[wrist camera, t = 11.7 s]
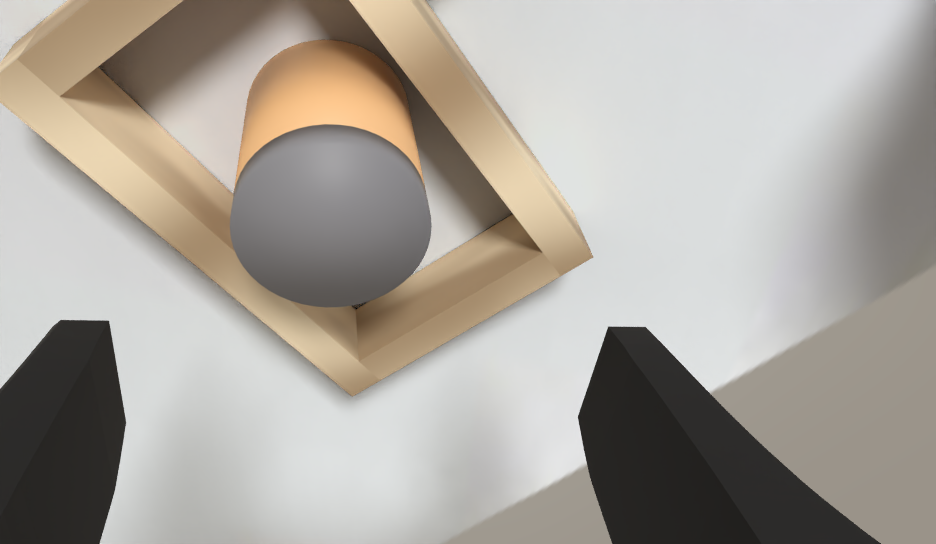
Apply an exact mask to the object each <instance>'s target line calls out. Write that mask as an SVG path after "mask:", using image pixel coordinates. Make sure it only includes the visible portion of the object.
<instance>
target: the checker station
mask: <svg viewBox="0 0 936 544" xmlns="http://www.w3.org/2000/svg"><path fill="white" fill-rule="evenodd" d="M182 1H183V0H68V1H66V2H65V3H64V4H63V5H62V6H60V7H59V8H58V9H57V10H55V11H54V12H53V13H52V14H51V15H49V16H48V17H47V18H46V19H44V20H43V21H42V22H41V23H39V24H38V25H37V26H36V27H35V28H33V29H32V30H31V31H30V32H28V33H27V34H26V35H25V36H23V37H22V38H21V39H20V40H19V41H17V42H16V43H15V44H14V45H13V46H12V48H11V49H10V51H9V52H8V53H7V55H6V56H5V57H4V59H3V60H2V61H1V63H0V103H2V104H3V105H4V106H5V107H6V108H8V109H9V110H10V111H11V112H12V113H14V114H15V115H16V116H17V117H18V118H20V119H21V120H22V121H23V122H24V123H26V124H27V125H28V126H29V127H30V128H32V129H33V130H34V131H35V132H36V133H38V134H39V135H40V136H41V137H42V138H43V139H45V140H46V141H47V142H48V143H49V144H51V145H52V146H53V147H54V148H55V149H57V150H58V151H59V152H60V153H61V154H63V155H64V156H65V157H66V158H67V159H69V160H70V161H71V162H72V163H73V164H75V165H76V166H77V167H78V168H79V169H81V170H82V171H83V172H84V173H85V174H87V175H88V176H89V177H90V178H91V179H93V180H94V181H95V182H96V183H97V184H99V185H100V186H101V187H102V188H103V189H105V190H106V191H107V192H108V193H109V194H111V195H112V196H113V197H114V198H115V199H116V200H118V201H119V202H120V203H121V204H122V205H124V206H125V207H126V208H127V209H128V210H130V211H131V212H132V213H133V214H134V215H136V216H137V217H138V218H139V219H140V220H142V221H143V222H144V223H145V224H146V225H148V226H149V227H150V228H151V229H152V230H154V231H155V232H156V233H157V234H158V235H160V236H161V237H162V238H163V239H164V240H166V241H167V242H168V243H169V244H170V245H172V246H173V247H174V248H175V249H176V250H178V251H179V252H180V253H181V254H182V255H184V256H185V257H186V258H187V259H188V260H189V261H191V262H192V263H193V264H194V265H195V266H197V267H198V268H199V269H200V270H201V271H203V272H204V273H205V274H206V275H207V276H209V277H210V278H211V279H212V280H213V281H215V282H216V283H217V284H218V285H219V286H221V287H222V288H223V289H224V290H225V291H227V292H228V293H229V294H230V295H231V296H233V297H234V298H235V299H236V300H237V301H239V302H240V303H241V304H242V305H243V306H245V307H246V308H247V309H248V310H249V311H251V312H252V313H253V314H254V315H255V316H257V317H258V318H259V319H260V320H261V321H262V322H264V323H265V324H266V325H267V326H268V327H270V328H271V329H272V330H273V331H274V332H276V333H277V334H278V335H279V336H280V337H282V338H283V339H284V340H285V341H286V342H288V343H289V344H290V345H291V346H292V347H294V348H295V349H296V350H297V351H298V352H300V353H301V354H302V355H303V356H304V357H306V358H307V359H308V360H309V361H310V362H312V363H313V364H314V365H315V366H316V367H318V368H319V369H320V370H321V371H322V372H324V373H325V374H326V375H327V376H328V377H330V378H331V379H332V380H333V381H334V382H335V383H337V384H338V385H339V386H340V387H341V388H343V389H344V390H345V391H346V392H347V393H349V394H350V395H351V396H354V395H356V394H358V393H359V392H361V391H363V390H364V389H366V388H368V387H370V386H371V385H373V384H375V383H377V382H378V381H380V380H382V379H384V378H385V377H387V376H389V375H390V374H392V373H394V372H396V371H397V370H399V369H401V368H403V367H404V366H406V365H408V364H409V363H411V362H413V361H415V360H416V359H418V358H420V357H422V356H423V355H425V354H427V353H428V352H430V351H432V350H434V349H435V348H437V347H439V346H441V345H442V344H444V343H446V342H447V341H449V340H451V339H453V338H454V337H456V336H458V335H460V334H461V333H463V332H465V331H467V330H468V329H470V328H472V327H473V326H475V325H477V324H479V323H480V322H482V321H484V320H486V319H487V318H489V317H491V316H492V315H494V314H496V313H498V312H499V311H501V310H503V309H505V308H506V307H508V306H510V305H511V304H513V303H515V302H517V301H518V300H520V299H522V298H524V297H525V296H527V295H529V294H531V293H532V292H534V291H536V290H537V289H539V288H541V287H543V286H544V285H546V284H548V283H550V282H551V281H553V280H555V279H556V278H558V277H560V276H562V275H563V274H565V273H567V272H569V271H570V270H572V269H574V268H575V267H577V266H579V265H581V264H582V263H584V262H586V261H588V260H589V259H591V258H593V255H592V253H591V251H590V249H589V246H588V244H587V242H586V240H585V238H584V235H583V233H582V231H581V229H580V226H579V224H578V222H577V220H576V217H575V215H574V213H573V211H572V209H571V208H570V206H569V205H568V204H567V202H566V201H565V199H564V198H563V196H562V195H561V194H560V192H559V191H558V189H557V188H556V186H555V185H554V184H553V182H552V181H551V179H550V178H549V176H548V175H547V173H546V172H545V171H544V169H543V168H542V166H541V165H540V163H539V162H538V161H537V159H536V158H535V156H534V155H533V153H532V152H531V151H530V149H529V148H528V146H527V145H526V143H525V142H524V141H523V139H522V138H521V136H520V135H519V133H518V132H517V131H516V129H515V128H514V126H513V125H512V123H511V122H510V120H509V119H508V118H507V116H506V115H505V113H504V112H503V110H502V109H501V108H500V106H499V105H498V103H497V102H496V100H495V99H494V98H493V96H492V95H491V93H490V92H489V90H488V89H487V88H486V86H485V85H484V83H483V82H482V80H481V79H480V77H479V76H478V75H477V73H476V72H475V70H474V69H473V67H472V66H471V65H470V63H469V62H468V60H467V59H466V57H465V56H464V55H463V53H462V52H461V50H460V49H459V47H458V46H457V45H456V43H455V42H454V40H453V39H452V37H451V36H450V34H449V33H448V32H447V30H446V29H445V27H444V26H443V24H442V23H441V22H440V20H439V19H438V17H437V16H436V14H435V13H434V12H433V10H432V9H431V7H430V6H429V4H428V3H427V2H426V0H349V1H350V2H351V3H352V5H353V6H354V7H355V8H356V10H357V11H358V12H359V14H360V15H361V16H362V18H363V19H364V20H365V22H366V23H367V24H368V25H369V27H370V28H371V29H372V31H373V32H374V33H375V35H376V36H377V37H378V38H379V40H380V41H381V42H382V44H383V45H384V46H385V48H386V49H387V50H388V51H389V53H390V54H391V55H392V57H393V58H394V59H395V61H396V62H397V63H398V65H399V66H400V67H401V68H402V70H403V71H404V72H405V74H406V75H407V76H408V78H409V79H410V80H411V81H412V83H413V84H414V85H415V87H416V88H417V89H418V91H419V92H420V93H421V94H422V96H423V97H424V98H425V100H426V101H427V102H428V104H429V105H430V106H431V108H432V109H433V110H434V111H435V113H436V114H437V115H438V117H439V118H440V119H441V121H442V122H443V123H444V124H445V126H446V127H447V128H448V130H449V131H450V132H451V134H452V135H453V136H454V137H455V139H456V140H457V141H458V143H459V144H460V145H461V147H462V148H463V149H464V151H465V152H466V153H467V154H468V156H469V157H470V158H471V160H472V161H473V162H474V164H475V165H476V166H477V167H478V169H479V170H480V171H481V173H482V174H483V175H484V177H485V178H486V179H487V180H488V182H489V183H490V184H491V186H492V187H493V188H494V190H495V191H496V192H497V194H498V195H499V196H500V197H501V199H502V200H503V201H504V203H505V204H506V205H507V207H508V208H509V209H510V210H511V212H512V213H513V214H512V215H510V216H509V217H507V218H505V219H504V220H502V221H500V222H499V223H497V224H496V225H494V226H492V227H491V228H489V229H487V230H486V231H484V232H482V233H481V234H479V235H478V236H476V237H474V238H473V239H471V240H469V241H468V242H466V243H464V244H463V245H461V246H459V247H458V248H456V249H455V250H453V251H451V252H450V253H448V254H446V255H445V256H443V257H441V258H440V259H438V260H437V261H435V262H433V263H432V264H430V265H428V266H427V267H425V268H423V269H422V270H420V271H418V272H417V273H415V274H414V275H412V276H410V277H409V278H407V279H406V280H405V281H404V282H403V283H402V284H401V285H399V286H398V287H397V288H395V289H394V290H392V291H390V292H389V293H387V294H385V295H383V296H381V297H379V298H376V299H374V300H371V301H369V302H368V303H366V304H364V305H363V306H361V307H359V308H358V309H356V310H355V309H354V308H353V307H352V306H345V307H315V306H309V305H304V304H300V303H296V302H293V301H290V300H287V299H285V298H282V297H280V296H278V295H276V294H274V293H273V292H271V291H269V290H268V289H266V288H265V287H263V286H262V285H260V284H259V283H258V282H257V281H256V280H255V279H254V278H253V277H251V275H250V274H249V273H248V272H247V271H246V270H245V268H244V267H243V265H242V264H241V262H240V261H239V259H238V257H237V255H236V253H235V250H234V248H233V244H232V241H231V235H230V216H231V209H232V202H233V194H232V193H231V192H230V191H229V190H228V189H227V188H226V187H225V186H224V185H223V184H222V183H221V182H220V181H219V180H217V179H216V178H215V177H214V176H213V175H212V174H211V173H210V172H209V171H208V170H207V169H206V168H205V167H204V166H203V165H202V164H200V163H199V162H198V161H197V160H196V159H195V158H194V157H193V156H192V155H191V154H190V153H189V152H188V151H187V150H186V149H185V148H184V147H182V146H181V145H180V144H179V143H178V142H177V141H176V140H175V139H174V138H173V137H172V136H171V135H170V134H169V133H168V132H167V131H165V130H164V129H163V128H162V127H161V126H160V125H159V124H158V123H157V122H156V121H155V120H154V119H153V118H152V117H151V116H150V115H148V114H147V113H146V112H145V111H144V110H143V109H142V108H141V107H140V106H139V105H138V104H137V103H136V102H135V101H134V100H133V99H132V98H130V97H129V96H128V95H127V94H126V93H125V92H124V91H123V90H122V89H121V88H120V87H119V86H118V85H117V84H116V83H115V82H113V81H112V80H111V79H110V78H109V77H108V76H107V75H106V74H105V73H104V72H103V71H102V70H101V69H100V68H99V67H98V66H100V65H101V64H102V63H103V62H105V61H106V60H107V59H109V58H110V57H111V56H112V55H114V54H115V53H116V52H118V51H119V50H120V49H121V48H123V47H124V46H125V45H127V44H128V43H129V42H130V41H132V40H133V39H134V38H136V37H137V36H138V35H139V34H141V33H142V32H143V31H145V30H146V29H147V28H148V27H150V26H151V25H152V24H154V23H155V22H156V21H158V20H159V19H160V18H161V17H163V16H164V15H165V14H167V13H168V12H169V11H170V10H172V9H173V8H174V7H176V6H177V5H178V4H179V3H181V2H182Z"/></svg>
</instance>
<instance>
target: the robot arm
mask: <svg viewBox="0 0 936 544" xmlns="http://www.w3.org/2000/svg"><path fill="white" fill-rule="evenodd" d="M578 420H579V425H580V430H581V436H582V441H583V446H584V451H585V456H586V461H587V465H588V470H589V474H590V478H591V481H592V485H593V488H594V491H595V494H596V496H597V500H598V502H599V506H600V508H601V511H602V515H603V517H604V520H605V523H606V526H607V529H608V532H609V535H610V538H611V541H612V544H881V543H879V542H878V541H876V540H875V539H874V538H872V537H871V536H870V535H868V534H867V533H866V532H864V531H863V530H862V529H860V528H859V527H858V526H857V525H855V524H854V523H853V522H852V521H850V520H849V519H848V518H847V517H845V516H844V515H843V514H841V513H840V512H839V511H838V510H836V509H835V508H834V507H833V506H831V505H830V504H829V503H828V502H826V501H825V500H824V499H822V498H821V497H820V496H819V495H818V494H817V493H815V492H814V491H813V490H812V489H810V488H809V487H808V486H807V485H806V484H805V483H803V482H802V481H801V480H800V479H799V478H798V477H797V476H796V475H794V474H793V473H792V472H791V471H790V470H789V469H788V468H787V467H785V466H784V465H783V464H782V463H781V462H780V461H779V460H778V459H777V458H776V457H774V456H773V455H772V454H771V453H770V452H769V451H768V450H767V449H766V448H764V446H762V445H761V444H760V443H759V442H758V441H757V440H756V439H755V438H754V437H753V436H752V435H751V434H750V433H749V432H748V431H747V430H746V429H745V428H744V427H743V426H742V425H741V424H740V423H739V422H737V421H736V420H735V419H734V418H733V417H732V416H731V415H730V414H729V413H728V412H727V411H726V410H725V409H724V408H723V407H722V406H721V404H719V402H717V400H715V398H714V397H713V396H712V395H711V394H710V393H709V392H708V391H707V390H706V389H705V388H704V387H703V386H702V385H701V384H700V383H699V382H698V381H697V380H696V379H695V378H694V377H693V376H692V375H691V374H690V372H689V371H688V370H687V369H686V368H685V367H684V366H683V365H682V364H681V363H680V362H679V361H678V360H677V359H676V358H675V357H674V356H673V355H672V354H671V353H670V352H669V350H668V349H667V348H666V347H665V346H664V345H663V344H662V343H661V342H660V341H659V340H658V339H657V338H656V337H655V336H654V335H653V334H652V333H651V332H650V331H649V330H648V329H647V328H646V327H608V329H607V332H606V335H605V338H604V341H603V344H602V347H601V350H600V353H599V356H598V359H597V362H596V365H595V368H594V371H593V374H592V377H591V380H590V383H589V386H588V389H587V392H586V395H585V398H584V400H583V403H582V406H581V409H580V412H579V415H578ZM125 426H126V419H125V413H124V407H123V401H122V395H121V390H120V384H119V378H118V372H117V366H116V360H115V354H114V348H113V342H112V336H111V330H110V324H109V321H87V320H60V321H59V322H58V323H57V324H55V325H54V326H53V327H52V328H51V329H50V331H49V332H48V333H47V334H46V336H45V337H44V338H43V339H42V340H41V342H40V343H39V344H38V345H37V346H36V348H35V349H34V350H33V351H32V352H31V354H30V355H29V356H28V357H27V358H26V360H25V361H24V362H23V363H22V364H21V366H20V367H19V368H18V369H17V370H16V371H15V373H14V374H13V375H12V376H11V377H10V378H9V380H8V381H7V382H6V383H5V384H4V385H3V386H2V388H1V389H0V544H99V543H100V540H101V536H102V533H103V530H104V526H105V523H106V519H107V516H108V512H109V509H110V506H111V502H112V498H113V495H114V491H115V486H116V481H117V475H118V469H119V464H120V458H121V451H122V445H123V439H124V432H125Z"/></svg>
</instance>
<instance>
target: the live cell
mask: <svg viewBox="0 0 936 544" xmlns="http://www.w3.org/2000/svg"><path fill="white" fill-rule="evenodd" d="M230 235H231V241H232V244H233V248H234V250H235V253H236V255H237V257H238V259H239V261H240V262H241V264H242V265H243V267H244V268H245V270H246V271H247V272H248V273H249V274H250V275H251V277H253V278H254V279H255V280H256V281H257V282H258V283H259V284H260V285H262V286H263V287H265V288H266V289H268V290H269V291H271V292H273V293H274V294H276V295H278V296H280V297H282V298H285V299H287V300H290V301H293V302H296V303H300V304H304V305H309V306H315V307H345V306H352V305H357V304H362V303H365V302H368V301H371V300H374V299H376V298H379V297H381V296H383V295H385V294H387V293H389V292H390V291H392V290H394V289H395V288H397V287H398V286H399V285H401V284H402V283H403V282H404V281H405V280H406V279H407V278H408V277H409V276H411V275H412V273H413V272H414V271H415V270H416V268H417V267H418V266H419V264H420V262H421V261H422V259H423V257H424V255H425V253H426V251H427V248H428V245H429V241H430V236H431V215H430V210H429V205H428V200H427V195H426V190H425V185H424V180H423V175H422V170H421V165H420V160H419V155H418V150H417V145H416V140H415V135H414V130H413V125H412V120H411V115H410V110H409V105H408V100H407V96H406V93H405V91H404V88H403V86H402V84H401V82H400V80H399V78H398V77H397V75H396V74H395V73H394V71H393V70H392V69H391V68H390V67H389V66H388V65H387V64H386V63H385V62H384V61H383V60H382V59H380V58H379V57H378V56H377V55H375V54H373V53H372V52H370V51H368V50H367V49H364V48H362V47H360V46H357V45H355V44H351V43H348V42H343V41H337V40H313V41H308V42H303V43H300V44H297V45H294V46H291V47H289V48H287V49H285V50H283V51H281V52H280V53H278V54H277V55H276V56H274V57H273V58H272V59H270V60H269V61H268V62H267V63H266V64H265V65H264V66H263V68H262V69H261V70H260V71H259V73H258V74H257V76H256V78H255V79H254V81H253V83H252V86H251V88H250V91H249V95H248V100H247V106H246V113H245V120H244V127H243V134H242V141H241V147H240V154H239V161H238V168H237V175H236V182H235V188H234V195H233V202H232V209H231V216H230Z"/></svg>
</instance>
